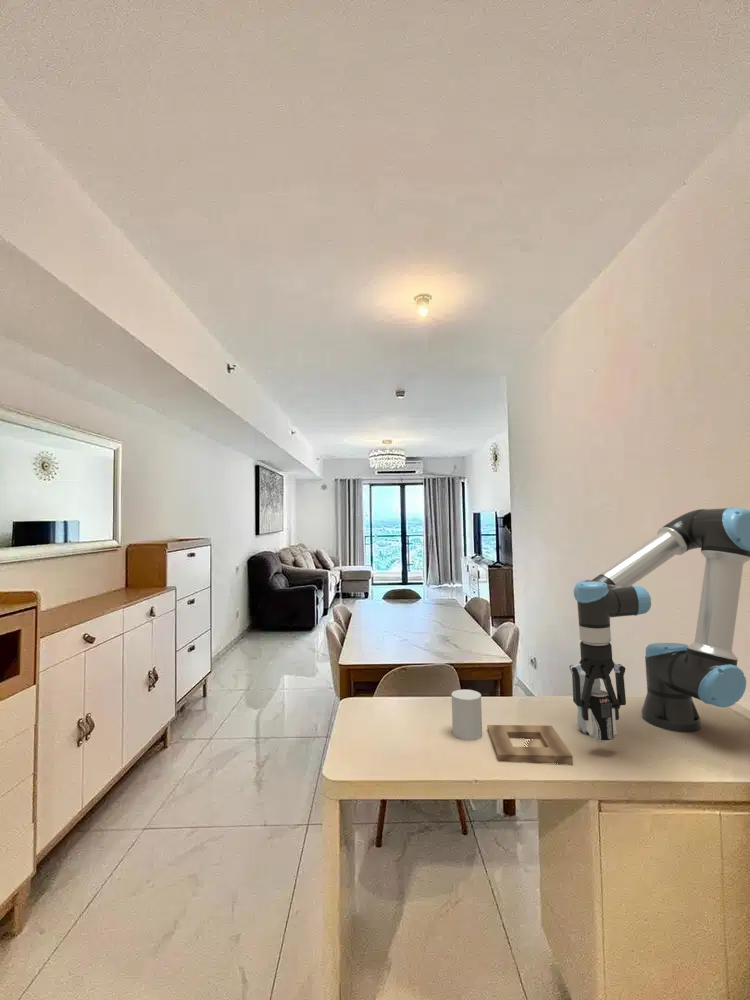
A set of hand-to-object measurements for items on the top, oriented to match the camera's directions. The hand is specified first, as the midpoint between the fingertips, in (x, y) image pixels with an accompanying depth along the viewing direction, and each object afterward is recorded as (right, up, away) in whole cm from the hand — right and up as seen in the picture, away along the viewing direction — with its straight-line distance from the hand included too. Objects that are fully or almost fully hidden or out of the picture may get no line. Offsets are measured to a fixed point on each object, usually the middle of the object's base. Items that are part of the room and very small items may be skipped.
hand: (601, 732), depth 127 cm
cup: (-33, -7, +10) cm, 35 cm away
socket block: (-18, -6, +3) cm, 19 cm away
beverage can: (0, -2, 0) cm, 2 cm away
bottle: (+2, -6, +12) cm, 14 cm away
